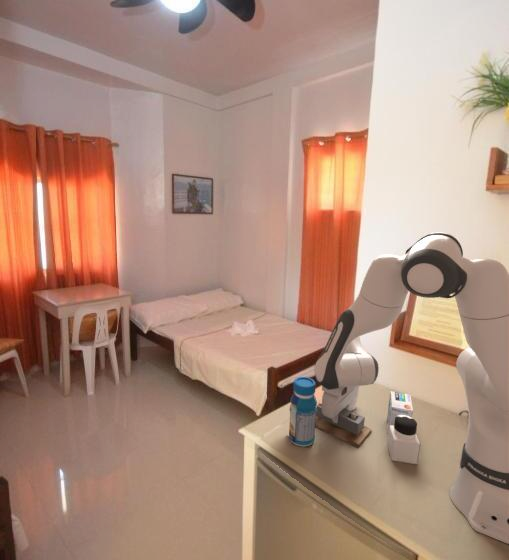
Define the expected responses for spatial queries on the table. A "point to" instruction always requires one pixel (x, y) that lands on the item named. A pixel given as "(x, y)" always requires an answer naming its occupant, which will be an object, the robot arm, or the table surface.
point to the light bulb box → (398, 407)
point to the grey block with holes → (344, 420)
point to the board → (344, 431)
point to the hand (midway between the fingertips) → (340, 417)
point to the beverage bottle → (303, 412)
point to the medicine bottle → (403, 440)
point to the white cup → (353, 403)
